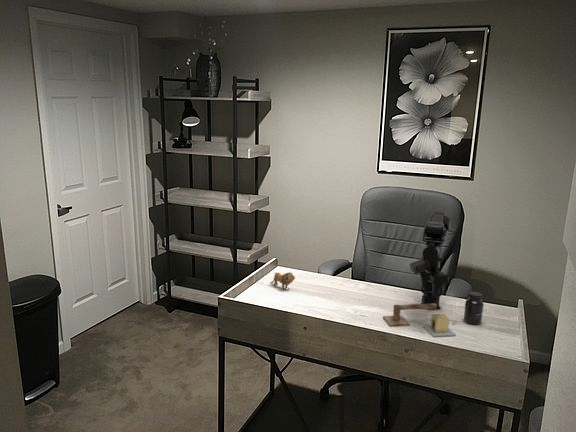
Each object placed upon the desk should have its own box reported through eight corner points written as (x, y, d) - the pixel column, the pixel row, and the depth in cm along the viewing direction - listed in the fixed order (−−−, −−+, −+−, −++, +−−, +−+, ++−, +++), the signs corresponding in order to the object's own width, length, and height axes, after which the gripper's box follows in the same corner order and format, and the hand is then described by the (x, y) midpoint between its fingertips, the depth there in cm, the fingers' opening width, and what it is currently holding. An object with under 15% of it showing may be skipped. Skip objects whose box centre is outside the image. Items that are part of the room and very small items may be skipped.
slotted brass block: (442, 327, 187) (443, 313, 186) (448, 332, 182) (449, 318, 181) (430, 327, 186) (431, 314, 185) (435, 332, 182) (437, 319, 180)
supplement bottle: (479, 326, 189) (482, 298, 187) (461, 322, 193) (464, 294, 190) (482, 320, 195) (486, 293, 193) (465, 316, 199) (468, 289, 196)
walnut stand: (430, 316, 198) (431, 300, 197) (439, 324, 191) (440, 308, 189) (382, 318, 195) (384, 302, 194) (390, 326, 187) (391, 310, 186)
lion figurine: (296, 290, 224) (297, 272, 222) (288, 293, 220) (289, 274, 218) (274, 282, 233) (274, 265, 231) (266, 285, 229) (266, 267, 228)
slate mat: (444, 325, 189) (444, 324, 189) (455, 336, 181) (455, 334, 181) (423, 326, 188) (423, 325, 188) (433, 337, 179) (433, 335, 179)
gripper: (403, 248, 197) (401, 284, 200) (423, 262, 179) (420, 301, 182) (429, 248, 199) (426, 283, 202) (451, 261, 181) (447, 300, 184)
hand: (429, 291), depth 192 cm, fingers open, 9 cm apart
